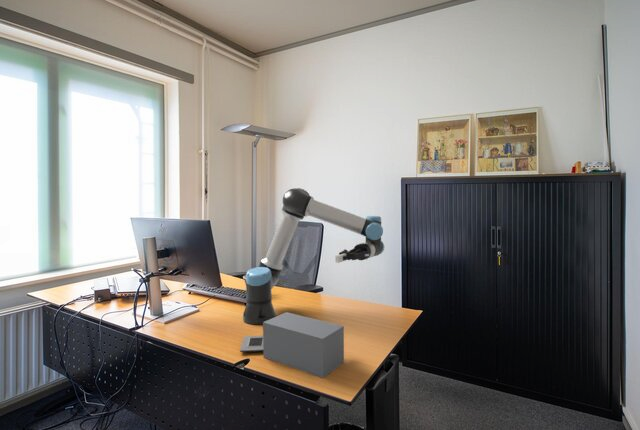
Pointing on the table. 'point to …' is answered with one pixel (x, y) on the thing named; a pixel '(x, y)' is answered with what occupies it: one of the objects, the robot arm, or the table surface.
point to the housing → (304, 343)
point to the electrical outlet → (252, 344)
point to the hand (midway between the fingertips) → (337, 259)
